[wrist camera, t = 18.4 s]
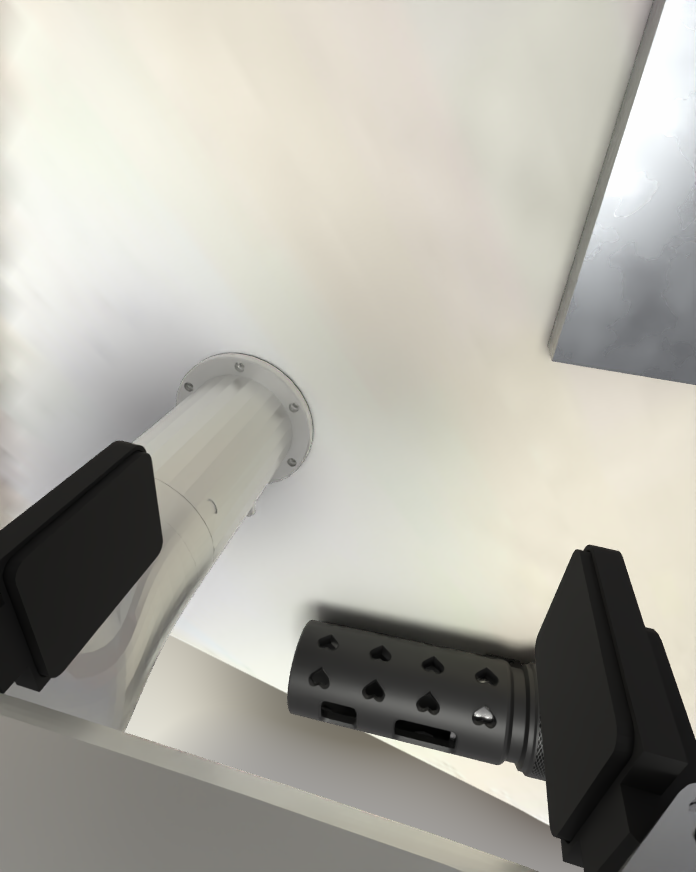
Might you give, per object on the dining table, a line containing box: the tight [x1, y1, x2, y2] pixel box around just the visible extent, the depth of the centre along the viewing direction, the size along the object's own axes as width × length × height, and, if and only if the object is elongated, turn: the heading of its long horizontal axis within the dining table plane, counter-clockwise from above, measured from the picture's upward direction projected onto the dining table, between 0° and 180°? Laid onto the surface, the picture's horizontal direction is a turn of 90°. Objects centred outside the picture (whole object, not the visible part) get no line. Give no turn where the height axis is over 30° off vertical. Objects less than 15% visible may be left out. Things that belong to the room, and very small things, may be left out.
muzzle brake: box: [287, 620, 546, 781], centre depth 49 cm, size 10×28×10 cm, turn 90°
